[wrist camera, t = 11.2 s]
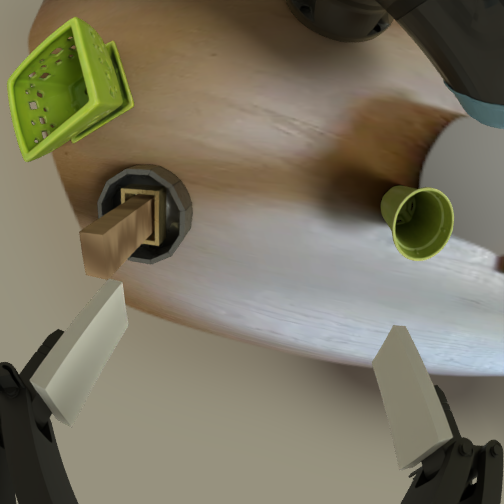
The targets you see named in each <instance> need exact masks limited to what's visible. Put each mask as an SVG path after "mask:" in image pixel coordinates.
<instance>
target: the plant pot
mask: <svg viewBox="0 0 504 504" xmlns="http://www.w3.org/2000/svg"><path fill="white" fill-rule="evenodd" d="M412 202H413V209H412V210H410V209H411V204H412ZM381 213H382V216H383V218H384V219H385V221H386V223H387V224H388V226H389V227H390V229H391V231H392V236H393V241H394V244H395V246H396V248H397V250H398V251H399V252H400V253H401V254H402V255H403V256H404V257H405V258H407V259H410V260H413V261H423V260H427V259H429V258H431V257H433V256H435V255H436V254H437V253H439V252H440V251H441V250H442V249H443V248H444V246H445V245H446V243H447V242H448V240H449V238H450V236H451V233H452V230H453V224H454V214H453V208H452V205H451V203H450V201H449V199H448V198H447V197H446V195H445V194H443V193H442V192H441V191H439V190H437V189H434V188H430V187H425V188H419V189H414V188H410V187H406V186H394V187H392V188H391V189H390V190H389V191H388V192H387V193H386V194H385V195H384V196H383V198H382V201H381ZM396 220H401V222H396Z"/></svg>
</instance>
